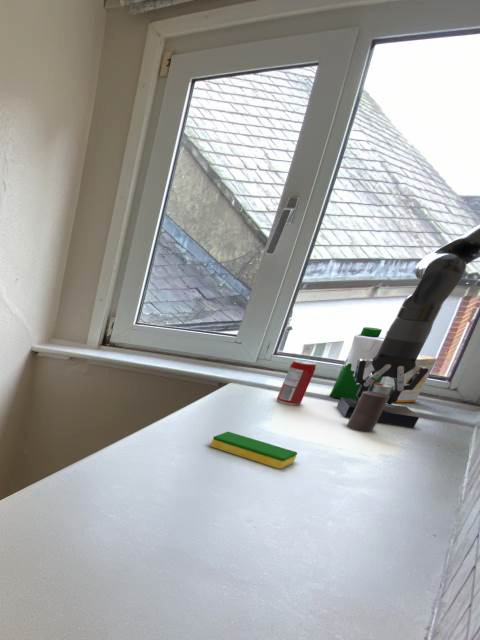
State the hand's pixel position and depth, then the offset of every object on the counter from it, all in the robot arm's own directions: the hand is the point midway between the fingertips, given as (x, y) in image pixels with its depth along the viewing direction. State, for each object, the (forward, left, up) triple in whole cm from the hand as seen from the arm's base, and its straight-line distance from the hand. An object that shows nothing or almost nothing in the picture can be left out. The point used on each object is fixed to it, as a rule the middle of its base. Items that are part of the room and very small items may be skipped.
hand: (374, 401), depth 146 cm
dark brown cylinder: (+4, +15, -4) cm, 16 cm away
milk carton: (0, -18, -4) cm, 19 cm away
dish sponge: (+30, +53, -4) cm, 61 cm away
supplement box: (-12, -25, -4) cm, 28 cm away
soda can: (+17, -1, -4) cm, 18 cm away
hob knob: (0, 0, -1) cm, 1 cm away
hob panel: (-1, +1, -4) cm, 4 cm away
